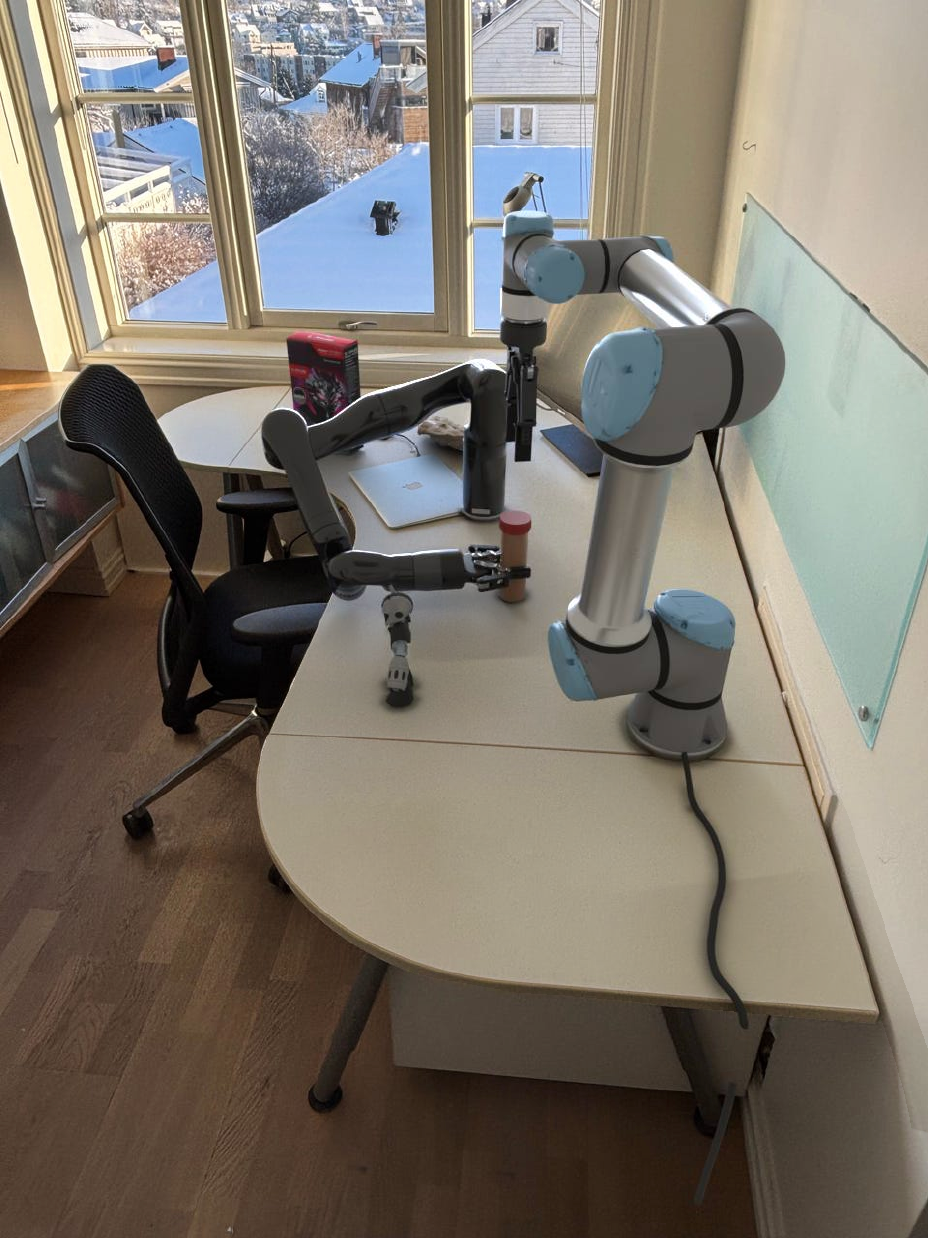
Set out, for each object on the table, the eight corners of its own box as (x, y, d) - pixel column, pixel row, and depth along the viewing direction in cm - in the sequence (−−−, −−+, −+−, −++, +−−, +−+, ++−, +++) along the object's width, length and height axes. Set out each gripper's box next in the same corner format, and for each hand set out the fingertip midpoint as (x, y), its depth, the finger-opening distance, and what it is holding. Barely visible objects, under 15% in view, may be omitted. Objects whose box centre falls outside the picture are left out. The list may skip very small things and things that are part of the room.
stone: (401, 440, 228) (406, 416, 226) (420, 431, 242) (425, 408, 239) (481, 464, 225) (487, 440, 222) (495, 454, 238) (501, 431, 236)
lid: (533, 534, 165) (534, 524, 164) (501, 536, 165) (501, 525, 164) (528, 519, 170) (528, 509, 169) (497, 520, 170) (497, 510, 168)
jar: (526, 601, 174) (531, 525, 165) (500, 602, 173) (503, 526, 164) (522, 587, 178) (526, 512, 169) (497, 588, 177) (500, 513, 168)
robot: (415, 731, 142) (412, 624, 131) (384, 732, 142) (378, 624, 131) (414, 656, 158) (412, 555, 147) (386, 656, 158) (381, 555, 147)
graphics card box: (294, 443, 234) (283, 336, 218) (310, 434, 239) (300, 328, 224) (350, 457, 227) (343, 347, 212) (366, 447, 232) (360, 339, 217)
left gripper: (433, 568, 178) (519, 562, 180) (441, 608, 166) (534, 601, 168) (432, 533, 174) (521, 528, 176) (441, 572, 162) (536, 566, 164)
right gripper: (561, 336, 139) (552, 475, 151) (533, 298, 155) (527, 426, 168) (512, 337, 138) (507, 477, 150) (490, 300, 154) (486, 428, 167)
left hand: (527, 564), depth 172 cm, fingers closed on jar, 5 cm apart
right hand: (517, 450), depth 159 cm, fingers open, 8 cm apart
